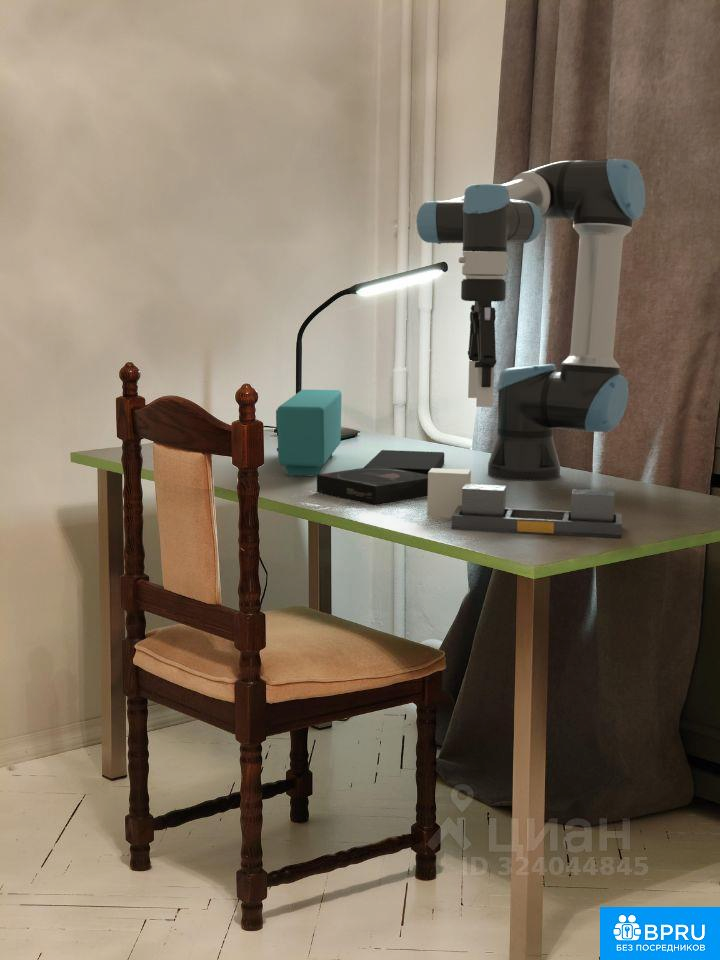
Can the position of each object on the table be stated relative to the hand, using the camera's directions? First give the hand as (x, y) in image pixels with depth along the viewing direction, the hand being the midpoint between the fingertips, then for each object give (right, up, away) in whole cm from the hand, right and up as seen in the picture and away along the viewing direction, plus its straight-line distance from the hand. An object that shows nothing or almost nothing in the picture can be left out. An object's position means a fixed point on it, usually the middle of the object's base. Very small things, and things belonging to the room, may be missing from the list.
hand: (480, 402), depth 212 cm
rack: (+9, -22, -4) cm, 24 cm away
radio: (-32, -10, +57) cm, 66 cm away
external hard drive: (-11, -12, +50) cm, 53 cm away
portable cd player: (-17, -17, +25) cm, 35 cm away
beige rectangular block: (-5, -20, +6) cm, 21 cm away
